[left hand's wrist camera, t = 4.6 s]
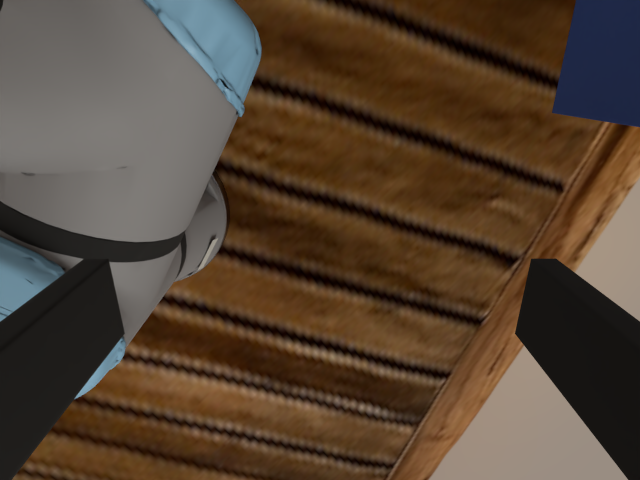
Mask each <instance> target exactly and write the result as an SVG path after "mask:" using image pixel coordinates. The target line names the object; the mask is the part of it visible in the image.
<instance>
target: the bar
mask: <svg viewBox="0 0 640 480" xmlns="http://www.w3.org/2000/svg"><path fill="white" fill-rule="evenodd" d="M552 113H556V114H562V115H568V116H575V117H581V118H587V119H593V120H599V121H605V122H611V123H618V124H624V125H630V126H636V127H640V0H576V4H575V9H574V13H573V18H572V23H571V27H570V32H569V37H568V41H567V46H566V50H565V55H564V60H563V64H562V69H561V74H560V78H559V83H558V88H557V92H556V97H555V102H554V106H553V111H552Z"/></svg>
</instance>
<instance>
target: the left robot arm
mask: <svg viewBox="0 0 640 480" xmlns="http://www.w3.org/2000/svg"><path fill="white" fill-rule="evenodd" d="M260 58H261V42H260V38H259V35H258V32H257V30H256V28H255V26H254V24H253V23H252V21H251V20H250V18H249V17H248V16H247V14H246V13H245V12H244V11H243V9H242V8H241V7H240V6H239V5H238V4H237V3H236V2H235V1H234V0H0V480H12V479H13V477H14V476H15V475H16V473H17V472H18V471H19V470H20V468H21V467H22V466H23V464H24V463H25V462H26V460H27V459H28V458H29V457H30V455H31V454H32V453H33V451H34V450H35V449H36V448H37V446H38V445H39V444H40V442H41V441H42V440H43V439H44V437H45V436H46V435H47V433H48V432H49V431H50V429H51V428H52V427H53V426H54V424H55V423H56V422H57V420H58V419H59V418H60V417H61V415H62V414H63V413H64V411H65V410H66V409H67V408H68V406H69V405H70V404H71V402H72V401H73V400H74V399H75V398H78V397H80V396H81V395H83V394H85V393H86V392H88V391H89V390H91V389H92V388H93V387H94V386H95V385H96V384H97V383H98V382H99V381H100V380H101V379H102V378H103V377H104V376H105V374H106V373H107V372H108V371H109V370H110V369H113V368H114V367H115V366H116V365H117V364H118V363H119V362H120V361H121V359H122V357H123V356H124V353H125V348H126V347H127V346H128V344H129V343H130V341H131V340H132V339H133V337H134V336H135V334H136V333H137V332H138V330H139V329H140V328H141V326H142V325H143V323H144V322H145V321H146V319H147V318H148V317H149V315H150V314H151V312H152V311H153V310H154V308H155V307H156V306H157V304H158V303H159V301H160V300H161V299H162V297H163V296H164V295H165V293H166V292H167V291H168V289H169V288H170V286H171V285H172V284H173V282H175V281H179V280H182V279H184V278H187V277H189V276H191V275H193V274H195V273H197V272H198V271H200V270H201V269H203V268H204V267H205V266H206V265H207V264H208V263H210V262H211V260H212V259H213V258H214V257H215V255H216V254H217V252H218V251H219V249H220V247H221V246H222V244H223V242H224V240H225V237H226V235H227V231H228V227H229V220H230V211H229V203H228V198H227V194H226V191H225V189H224V186H223V184H222V182H221V180H220V178H219V177H218V175H217V173H216V172H215V171H214V169H215V166H216V164H217V162H218V160H219V158H220V155H221V153H222V151H223V149H224V146H225V144H226V142H227V140H228V138H229V135H230V133H231V131H232V129H233V126H234V124H235V122H236V120H237V118H238V116H239V117H242V115H243V113H244V105H243V103H244V100H245V98H246V95H247V93H248V90H249V88H250V85H251V83H252V80H253V78H254V75H255V73H256V70H257V68H258V65H259V62H260ZM515 334H516V335H517V337H518V338H519V339H520V340H521V342H522V343H523V344H524V346H525V347H526V348H527V349H528V351H529V352H530V353H531V355H532V356H533V357H534V359H535V360H536V361H537V362H538V364H539V365H540V366H541V367H542V369H543V370H544V371H545V373H546V374H547V375H548V377H549V378H550V379H551V380H552V382H553V383H554V384H555V386H556V387H557V388H558V389H559V391H560V392H561V393H562V395H563V396H564V397H565V398H566V400H567V401H568V402H569V404H570V405H571V406H572V408H573V409H574V410H575V411H576V413H577V414H578V415H579V417H580V418H581V419H582V420H583V422H584V423H585V424H586V426H587V427H588V428H589V429H590V431H591V432H592V433H593V435H594V436H595V437H596V439H597V440H598V441H599V442H600V444H601V445H602V446H603V448H604V449H605V450H606V451H607V453H608V454H609V455H610V457H611V458H612V459H613V460H614V462H615V463H616V464H617V466H618V467H619V468H620V470H621V471H622V472H623V473H624V475H625V476H626V477H627V479H628V480H640V321H638V320H637V319H635V318H634V317H633V316H632V315H630V314H629V313H628V312H626V311H625V310H624V309H622V308H621V307H620V306H618V305H617V304H616V303H614V302H613V301H611V300H610V299H609V298H608V297H606V296H605V295H604V294H602V293H601V292H600V291H598V290H597V289H596V288H594V287H593V286H592V285H590V284H589V283H588V282H586V281H585V280H584V279H582V278H581V277H580V276H578V275H577V274H576V273H574V272H573V271H572V270H570V269H569V268H568V267H566V266H565V265H564V264H562V263H561V262H560V261H558V260H557V259H531V263H530V267H529V272H528V276H527V281H526V286H525V290H524V295H523V299H522V304H521V309H520V313H519V318H518V322H517V327H516V331H515Z"/></svg>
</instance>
